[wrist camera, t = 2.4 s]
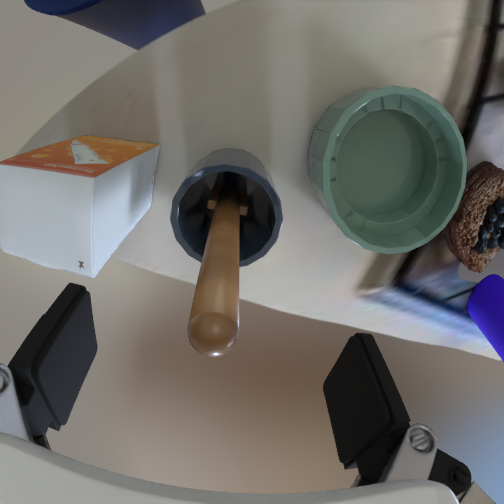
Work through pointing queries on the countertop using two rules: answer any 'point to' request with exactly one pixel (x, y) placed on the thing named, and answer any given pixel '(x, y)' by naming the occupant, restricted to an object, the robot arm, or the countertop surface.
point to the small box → (75, 200)
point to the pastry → (478, 218)
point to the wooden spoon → (219, 276)
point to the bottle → (489, 310)
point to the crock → (199, 216)
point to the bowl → (388, 167)
